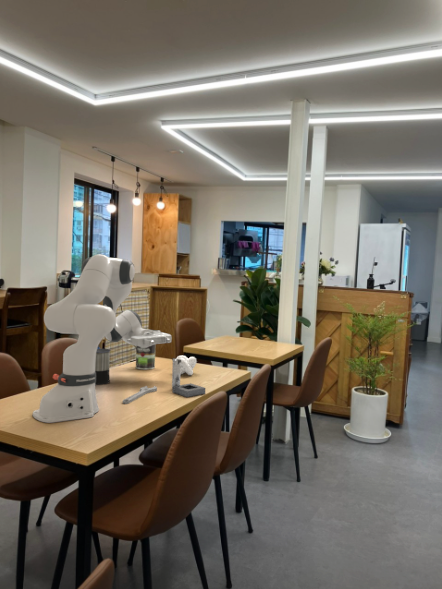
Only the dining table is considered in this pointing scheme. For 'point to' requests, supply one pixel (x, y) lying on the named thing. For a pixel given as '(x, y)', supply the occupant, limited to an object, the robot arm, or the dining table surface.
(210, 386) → the dining table surface
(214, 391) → the dining table surface
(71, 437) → the dining table surface
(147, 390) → the adjustable wrench
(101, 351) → the milk frother
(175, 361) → the keyed metal peg
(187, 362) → the white knot
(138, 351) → the coffee can
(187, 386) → the socket block
